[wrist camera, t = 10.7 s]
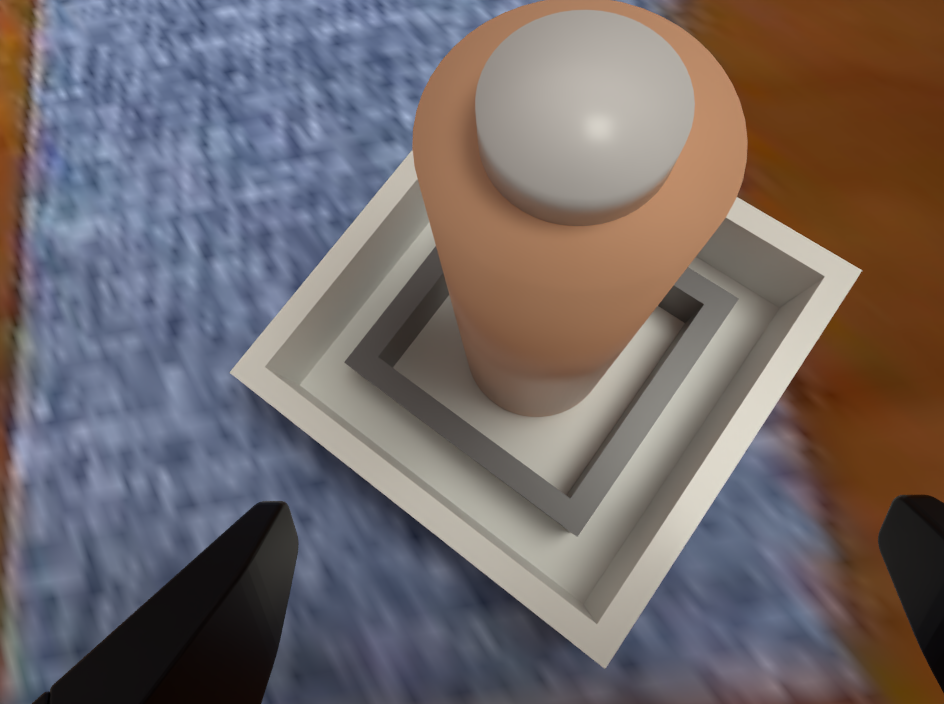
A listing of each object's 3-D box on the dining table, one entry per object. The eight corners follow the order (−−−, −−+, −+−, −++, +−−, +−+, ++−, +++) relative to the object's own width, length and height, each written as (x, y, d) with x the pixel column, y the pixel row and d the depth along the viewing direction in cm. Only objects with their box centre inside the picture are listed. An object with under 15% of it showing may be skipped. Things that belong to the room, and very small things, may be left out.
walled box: (587, 635, 20) (605, 669, 16) (277, 393, 23) (229, 372, 19) (800, 309, 22) (862, 270, 18) (494, 122, 25) (491, 53, 21)
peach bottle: (604, 421, 21) (779, 280, 7) (461, 412, 21) (385, 260, 8) (607, 286, 22) (763, -46, 9) (471, 279, 22) (421, -49, 9)
